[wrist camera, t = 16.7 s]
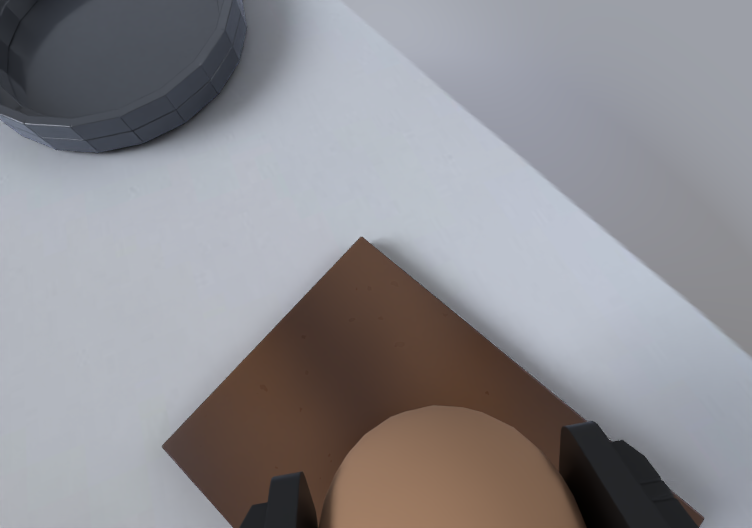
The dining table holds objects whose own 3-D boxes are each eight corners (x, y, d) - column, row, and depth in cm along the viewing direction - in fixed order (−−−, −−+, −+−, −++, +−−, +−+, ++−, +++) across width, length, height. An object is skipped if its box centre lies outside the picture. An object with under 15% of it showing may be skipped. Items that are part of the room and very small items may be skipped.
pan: (139, -84, 34) (116, -129, 31) (300, 30, 30) (290, -10, 27) (-57, 57, 30) (-104, 20, 28) (95, 208, 26) (60, 183, 24)
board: (362, 243, 25) (361, 235, 24) (688, 512, 20) (706, 518, 19) (172, 444, 22) (160, 446, 21) (502, 813, 17) (510, 841, 16)
